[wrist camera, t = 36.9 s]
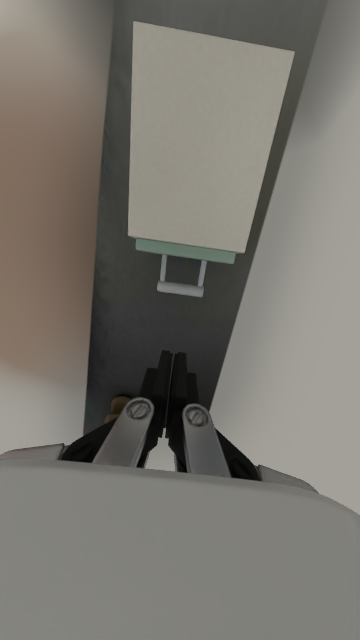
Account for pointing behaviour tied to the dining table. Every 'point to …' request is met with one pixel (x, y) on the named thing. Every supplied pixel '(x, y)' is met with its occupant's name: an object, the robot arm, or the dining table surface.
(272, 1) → the dining table surface
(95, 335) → the dining table surface
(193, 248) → the green drawer
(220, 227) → the small drawer cabinet
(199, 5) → the dining table surface
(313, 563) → the robot arm
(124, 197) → the dining table surface
